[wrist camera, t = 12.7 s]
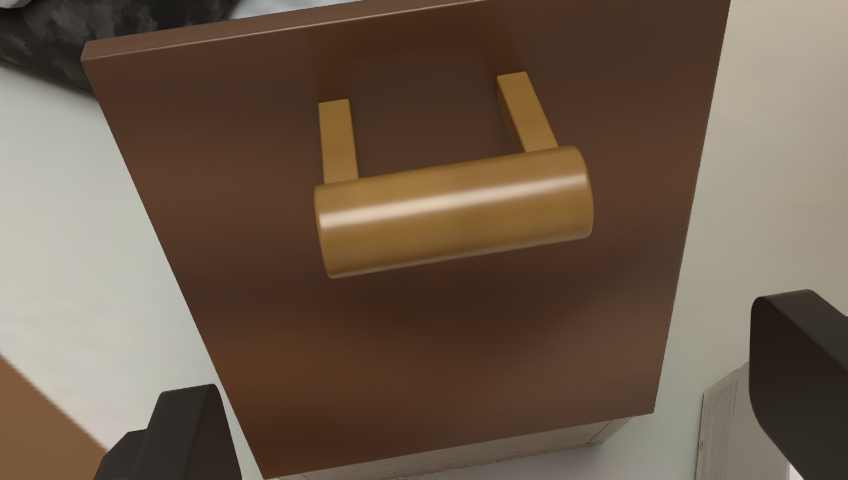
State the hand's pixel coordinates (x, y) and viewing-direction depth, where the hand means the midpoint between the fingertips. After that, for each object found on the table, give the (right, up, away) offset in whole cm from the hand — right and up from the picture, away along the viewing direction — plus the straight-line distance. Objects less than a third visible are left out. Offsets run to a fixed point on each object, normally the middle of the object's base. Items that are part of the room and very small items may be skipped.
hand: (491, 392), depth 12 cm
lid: (-1, +2, +11) cm, 11 cm away
